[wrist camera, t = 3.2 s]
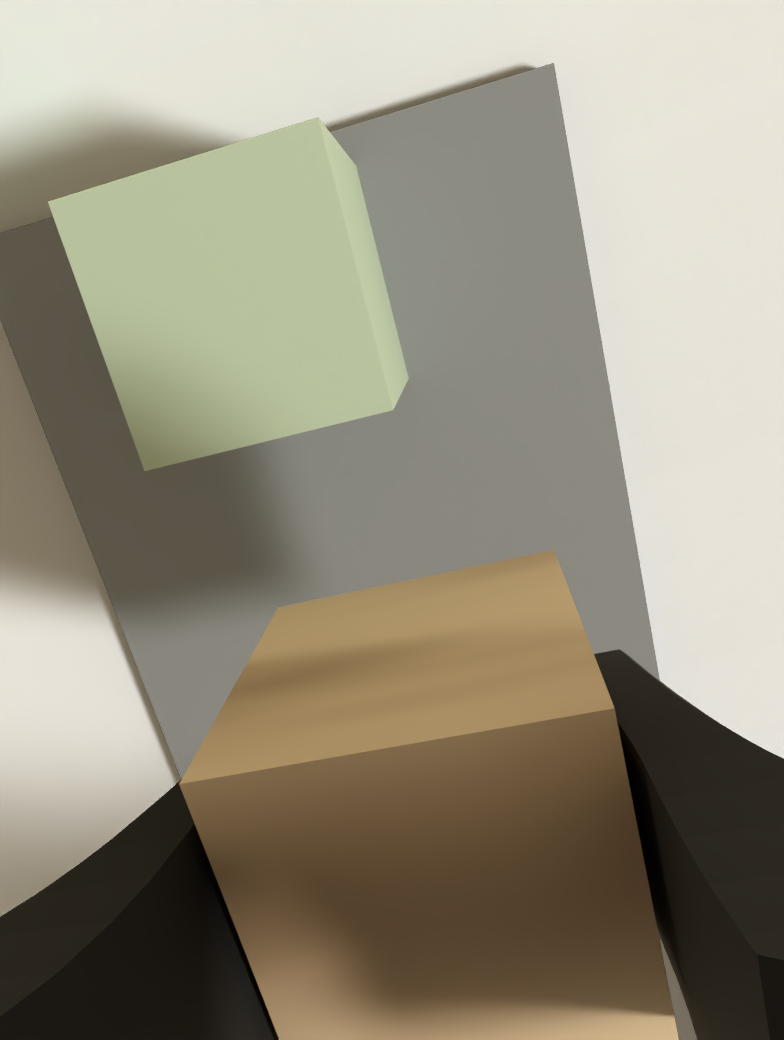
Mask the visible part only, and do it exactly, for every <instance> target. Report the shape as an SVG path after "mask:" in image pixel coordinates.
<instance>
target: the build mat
mask: <svg viewBox="0 0 784 1040" xmlns="http://www.w3.org/2000/svg"><path fill="white" fill-rule="evenodd" d="M330 133H331V134H332V136H333V137H334V138H335V139H336V141H337V142H338V143H339V144H340V146H341V147H342V148H343V150H344V151H345V152H346V153H347V155H348V156H349V157H350V159H351V160H352V161H353V162H354V164H355V165H356V167H357V171H358V175H359V179H360V183H361V188H362V192H363V196H364V200H365V204H366V208H367V212H368V216H369V220H370V224H371V228H372V232H373V236H374V240H375V244H376V248H377V252H378V256H379V260H380V264H381V268H382V273H383V277H384V281H385V285H386V289H387V293H388V297H389V301H390V305H391V309H392V313H393V317H394V321H395V325H396V329H397V333H398V337H399V341H400V345H401V349H402V354H403V358H404V362H405V366H406V370H407V374H408V378H409V379H408V381H407V383H406V385H405V387H404V389H403V391H402V393H401V395H400V397H399V399H398V401H397V403H396V405H395V407H394V409H393V410H392V411H388V412H384V413H380V414H376V415H372V416H367V417H363V418H359V419H355V420H351V421H347V422H343V423H339V424H335V425H331V426H327V427H323V428H319V429H315V430H310V431H306V432H302V433H298V434H294V435H290V436H286V437H282V438H278V439H274V440H270V441H266V442H262V443H258V444H253V445H249V446H245V447H241V448H237V449H233V450H229V451H225V452H221V453H217V454H213V455H209V456H205V457H201V458H196V459H192V460H188V461H184V462H180V463H176V464H172V465H168V466H164V467H160V468H156V469H152V470H148V471H144V468H143V465H142V463H141V460H140V457H139V454H138V451H137V449H136V446H135V443H134V440H133V438H132V435H131V432H130V429H129V426H128V424H127V421H126V418H125V415H124V412H123V410H122V407H121V404H120V401H119V399H118V396H117V393H116V390H115V387H114V385H113V382H112V379H111V376H110V374H109V371H108V368H107V365H106V362H105V360H104V357H103V354H102V351H101V349H100V346H99V343H98V340H97V337H96V335H95V332H94V329H93V326H92V323H91V321H90V318H89V315H88V312H87V310H86V307H85V304H84V301H83V298H82V296H81V293H80V290H79V287H78V285H77V282H76V279H75V276H74V273H73V271H72V268H71V265H70V262H69V260H68V257H67V254H66V251H65V248H64V246H63V243H62V240H61V237H60V234H59V232H58V229H57V226H56V223H55V221H54V218H53V217H52V218H49V219H45V220H42V221H39V222H36V223H32V224H29V225H26V226H23V227H19V228H16V229H13V230H10V231H6V232H3V233H0V320H1V322H2V325H3V327H4V330H5V332H6V335H7V337H8V340H9V343H10V345H11V348H12V350H13V353H14V355H15V358H16V360H17V363H18V365H19V368H20V371H21V373H22V376H23V378H24V381H25V383H26V386H27V388H28V391H29V393H30V396H31V399H32V401H33V404H34V406H35V409H36V411H37V414H38V416H39V419H40V421H41V424H42V427H43V429H44V432H45V434H46V437H47V439H48V442H49V444H50V447H51V449H52V452H53V455H54V457H55V460H56V462H57V465H58V467H59V470H60V472H61V475H62V477H63V480H64V483H65V485H66V488H67V490H68V493H69V495H70V498H71V500H72V503H73V505H74V508H75V511H76V513H77V516H78V518H79V521H80V523H81V526H82V528H83V531H84V533H85V536H86V539H87V541H88V544H89V546H90V549H91V551H92V554H93V556H94V559H95V562H96V564H97V567H98V569H99V572H100V574H101V577H102V579H103V582H104V584H105V587H106V590H107V592H108V595H109V597H110V600H111V602H112V605H113V607H114V610H115V612H116V615H117V618H118V620H119V623H120V625H121V628H122V630H123V633H124V635H125V638H126V640H127V643H128V646H129V648H130V651H131V653H132V656H133V658H134V661H135V663H136V666H137V668H138V671H139V674H140V676H141V679H142V681H143V684H144V686H145V689H146V691H147V694H148V696H149V699H150V702H151V704H152V707H153V709H154V712H155V714H156V717H157V719H158V722H159V724H160V727H161V730H162V732H163V735H164V737H165V740H166V742H167V745H168V747H169V750H170V752H171V755H172V758H173V760H174V763H175V765H176V768H177V770H178V773H179V775H180V778H181V779H182V778H183V776H184V774H185V773H186V771H187V769H188V767H189V766H190V764H191V762H192V760H193V758H194V757H195V755H196V753H197V751H198V750H199V748H200V746H201V744H202V742H203V741H204V739H205V737H206V735H207V733H208V732H209V730H210V728H211V726H212V725H213V723H214V721H215V719H216V717H217V716H218V714H219V712H220V710H221V708H222V707H223V705H224V703H225V701H226V700H227V698H228V696H229V694H230V692H231V691H232V689H233V687H234V685H235V684H236V682H237V680H238V678H239V676H240V675H241V673H242V671H243V669H244V667H245V666H246V664H247V662H248V660H249V659H250V657H251V655H252V653H253V651H254V650H255V648H256V646H257V644H258V642H259V641H260V639H261V637H262V635H263V634H264V632H265V630H266V628H267V626H268V625H269V623H270V621H271V619H272V618H273V616H274V614H275V612H276V610H277V609H278V607H282V606H287V605H292V604H297V603H301V602H306V601H311V600H316V599H321V598H325V597H330V596H335V595H340V594H345V593H349V592H354V591H359V590H364V589H368V588H373V587H378V586H383V585H388V584H392V583H397V582H402V581H407V580H412V579H416V578H421V577H426V576H431V575H436V574H440V573H445V572H450V571H455V570H459V569H464V568H469V567H474V566H479V565H483V564H488V563H493V562H498V561H503V560H507V559H512V558H517V557H522V556H527V555H531V554H536V553H541V552H546V551H551V550H554V551H555V554H556V556H557V559H558V562H559V564H560V567H561V570H562V572H563V575H564V577H565V580H566V583H567V585H568V588H569V590H570V593H571V596H572V598H573V601H574V604H575V606H576V609H577V611H578V614H579V617H580V619H581V622H582V624H583V627H584V630H585V632H586V635H587V637H588V640H589V643H590V645H591V648H592V651H593V653H594V654H596V653H602V652H607V651H613V650H618V649H620V650H621V651H623V652H624V653H626V654H627V655H629V656H630V657H631V658H632V659H633V660H635V661H636V662H637V663H638V664H639V665H641V666H642V667H643V668H644V669H645V670H647V671H648V672H649V673H650V674H652V675H653V676H654V677H655V678H657V679H658V680H659V681H660V679H659V674H658V668H657V662H656V656H655V650H654V645H653V639H652V633H651V627H650V621H649V615H648V610H647V604H646V598H645V592H644V586H643V580H642V575H641V569H640V563H639V557H638V551H637V545H636V540H635V534H634V528H633V522H632V516H631V510H630V505H629V499H628V493H627V487H626V481H625V475H624V470H623V464H622V458H621V452H620V446H619V440H618V435H617V429H616V423H615V417H614V411H613V405H612V400H611V394H610V388H609V382H608V376H607V370H606V365H605V359H604V353H603V347H602V341H601V335H600V330H599V324H598V318H597V312H596V306H595V301H594V295H593V289H592V283H591V277H590V271H589V266H588V260H587V254H586V248H585V242H584V236H583V231H582V225H581V219H580V213H579V207H578V201H577V196H576V190H575V184H574V178H573V172H572V166H571V161H570V155H569V149H568V143H567V137H566V131H565V126H564V120H563V114H562V108H561V102H560V96H559V91H558V85H557V79H556V73H555V67H554V63H552V64H549V65H545V66H542V67H539V68H536V69H532V70H529V71H526V72H523V73H519V74H516V75H513V76H510V77H506V78H503V79H500V80H497V81H493V82H490V83H487V84H484V85H480V86H477V87H474V88H471V89H468V90H464V91H461V92H458V93H455V94H451V95H448V96H445V97H442V98H438V99H435V100H432V101H429V102H425V103H422V104H419V105H416V106H412V107H409V108H406V109H403V110H399V111H396V112H393V113H390V114H386V115H383V116H380V117H377V118H373V119H370V120H367V121H364V122H360V123H357V124H354V125H351V126H347V127H344V128H341V129H338V130H334V131H331V132H330ZM658 935H659V932H658ZM659 939H661V937H660V935H659Z"/></svg>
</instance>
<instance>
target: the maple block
mask: <svg viewBox="0 0 784 1040" xmlns="http://www.w3.org/2000/svg"><path fill="white" fill-rule="evenodd" d="M179 785H180V788H181V790H182V793H183V795H184V798H185V800H186V803H187V805H188V808H189V811H190V813H191V816H192V818H193V821H194V823H195V826H196V828H197V831H198V834H199V836H200V839H201V841H202V844H203V846H204V849H205V851H206V854H207V856H208V859H209V862H210V864H211V867H212V869H213V872H214V874H215V877H216V879H217V882H218V885H219V887H220V890H221V892H222V895H223V897H224V900H225V902H226V905H227V908H228V910H229V913H230V915H231V918H232V920H233V923H234V925H235V928H236V930H237V933H238V936H239V938H240V941H241V943H242V946H243V948H244V951H245V953H246V956H247V959H248V961H249V964H250V966H251V969H252V971H253V974H254V976H255V979H256V981H257V984H258V987H259V989H260V992H261V994H262V997H263V999H264V1002H265V1004H266V1007H267V1010H268V1012H269V1015H270V1017H271V1020H272V1022H273V1025H274V1027H275V1030H276V1033H277V1035H278V1038H279V1040H679V1038H678V1033H677V1028H676V1023H675V1017H674V1012H673V1007H672V1002H671V997H670V992H669V986H668V981H667V976H666V971H665V966H664V961H663V956H662V950H661V945H660V940H659V935H658V930H657V925H656V919H655V914H654V909H653V904H652V899H651V894H650V888H649V883H648V878H647V873H646V868H645V863H644V857H643V852H642V847H641V842H640V837H639V832H638V827H637V821H636V816H635V811H634V806H633V801H632V796H631V790H630V785H629V780H628V775H627V770H626V765H625V759H624V754H623V749H622V744H621V739H620V734H619V728H618V723H617V718H616V713H615V708H614V705H613V703H612V700H611V698H610V695H609V692H608V690H607V687H606V685H605V682H604V679H603V677H602V674H601V671H600V669H599V666H598V664H597V661H596V658H595V656H594V653H593V651H592V648H591V645H590V643H589V640H588V637H587V635H586V632H585V630H584V627H583V624H582V622H581V619H580V617H579V614H578V611H577V609H576V606H575V604H574V601H573V598H572V596H571V593H570V590H569V588H568V585H567V583H566V580H565V577H564V575H563V572H562V570H561V567H560V564H559V562H558V559H557V556H556V554H555V551H554V550H551V551H546V552H541V553H536V554H531V555H527V556H522V557H517V558H512V559H507V560H503V561H498V562H493V563H488V564H483V565H479V566H474V567H469V568H464V569H459V570H455V571H450V572H445V573H440V574H436V575H431V576H426V577H421V578H416V579H412V580H407V581H402V582H397V583H392V584H388V585H383V586H378V587H373V588H368V589H364V590H359V591H354V592H349V593H345V594H340V595H335V596H330V597H325V598H321V599H316V600H311V601H306V602H301V603H297V604H292V605H287V606H282V607H278V609H277V610H276V612H275V614H274V616H273V618H272V619H271V621H270V623H269V625H268V626H267V628H266V630H265V632H264V634H263V635H262V637H261V639H260V641H259V642H258V644H257V646H256V648H255V650H254V651H253V653H252V655H251V657H250V659H249V660H248V662H247V664H246V666H245V667H244V669H243V671H242V673H241V675H240V676H239V678H238V680H237V682H236V684H235V685H234V687H233V689H232V691H231V692H230V694H229V696H228V698H227V700H226V701H225V703H224V705H223V707H222V708H221V710H220V712H219V714H218V716H217V717H216V719H215V721H214V723H213V725H212V726H211V728H210V730H209V732H208V733H207V735H206V737H205V739H204V741H203V742H202V744H201V746H200V748H199V750H198V751H197V753H196V755H195V757H194V758H193V760H192V762H191V764H190V766H189V767H188V769H187V771H186V773H185V774H184V776H183V778H182V780H181V782H180V783H179Z"/></svg>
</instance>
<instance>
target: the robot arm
mask: <svg viewBox="0 0 784 1040" xmlns="http://www.w3.org/2000/svg"><path fill="white" fill-rule="evenodd" d="M594 656H595V658H596V661H597V664H598V666H599V669H600V671H601V674H602V677H603V679H604V682H605V685H606V687H607V690H608V692H609V695H610V698H611V700H612V703H613V705H614V708H615V713H616V718H617V723H618V728H619V734H620V739H621V744H622V749H623V754H624V759H625V765H626V770H627V775H628V780H629V785H630V790H631V796H632V801H633V806H634V811H635V816H636V821H637V827H638V832H639V837H640V842H641V847H642V852H643V857H644V863H645V868H646V873H647V878H648V883H649V888H650V894H651V899H652V904H653V909H654V914H655V919H656V925H657V930H658V932H659V935H660V937H661V940H662V942H663V945H664V947H665V950H666V952H667V955H668V957H669V960H670V962H671V965H672V967H673V970H674V972H675V975H676V977H677V980H678V983H679V985H680V988H681V991H682V994H683V997H684V999H685V1002H686V1005H687V1008H688V1011H689V1013H690V1017H691V1020H692V1023H693V1026H694V1030H695V1033H696V1036H697V1040H784V759H783V758H781V757H779V756H777V755H775V754H773V753H771V752H769V751H767V750H765V749H763V748H761V747H759V746H757V745H756V744H754V743H752V742H750V741H748V740H746V739H745V738H743V737H741V736H740V735H738V734H736V733H735V732H733V731H731V730H730V729H728V728H726V727H725V726H723V725H721V724H720V723H718V722H717V721H715V720H714V719H712V718H711V717H709V716H708V715H706V714H705V713H703V712H702V711H700V710H699V709H698V708H696V707H695V706H693V705H692V704H690V703H689V702H688V701H686V700H685V699H683V698H682V697H680V696H679V695H678V694H676V693H675V692H674V691H672V690H671V689H670V688H668V687H667V686H666V685H664V684H663V683H662V682H661V681H659V680H658V679H657V678H655V677H654V676H653V675H652V674H650V673H649V672H648V671H647V670H645V669H644V668H643V667H642V666H641V665H639V664H638V663H637V662H636V661H635V660H633V659H632V658H631V657H630V656H629V655H627V654H626V653H624V652H623V651H621V650H620V649H618V650H613V651H607V652H602V653H596V654H594ZM181 780H182V779H181ZM181 780H180V781H179V782H178V783H177V784H176V785H175V786H174V787H173V788H171V789H170V790H169V791H168V792H167V793H166V794H165V795H164V796H162V797H161V798H160V799H159V800H158V801H157V802H155V803H154V804H153V805H152V806H151V807H149V808H148V809H147V810H146V811H145V812H143V813H142V814H141V815H140V816H139V817H138V818H136V819H135V820H134V821H133V822H132V823H130V824H129V825H128V826H127V827H126V828H125V829H123V830H122V831H121V832H120V833H119V834H117V835H116V836H115V837H114V838H113V839H111V840H110V841H109V842H108V843H106V844H105V845H104V846H102V847H101V848H100V849H99V850H97V851H96V852H95V853H93V854H92V855H91V856H89V857H88V858H87V859H85V860H84V861H83V862H81V863H80V864H79V865H77V866H76V867H74V868H73V869H72V870H70V871H69V872H67V873H66V874H65V875H63V876H62V877H60V878H59V879H58V880H56V881H55V882H53V883H52V884H51V885H49V886H48V887H46V888H45V889H43V890H42V891H40V892H39V893H37V894H36V895H34V896H33V897H31V898H30V899H28V900H26V901H25V902H23V903H22V904H20V905H18V906H17V907H15V908H14V909H12V910H10V911H9V912H7V913H6V914H4V915H3V916H1V917H0V1040H279V1038H278V1035H277V1033H276V1030H275V1027H274V1025H273V1022H272V1020H271V1017H270V1015H269V1012H268V1010H267V1007H266V1004H265V1002H264V999H263V997H262V994H261V992H260V989H259V987H258V984H257V981H256V979H255V976H254V974H253V971H252V969H251V966H250V964H249V961H248V959H247V956H246V953H245V951H244V948H243V946H242V943H241V941H240V938H239V936H238V933H237V930H236V928H235V925H234V923H233V920H232V918H231V915H230V913H229V910H228V908H227V905H226V902H225V900H224V897H223V895H222V892H221V890H220V887H219V885H218V882H217V879H216V877H215V874H214V872H213V869H212V867H211V864H210V862H209V859H208V856H207V854H206V851H205V849H204V846H203V844H202V841H201V839H200V836H199V834H198V831H197V828H196V826H195V823H194V821H193V818H192V816H191V813H190V811H189V808H188V805H187V803H186V800H185V798H184V795H183V793H182V790H181V788H180V785H179V783H180V782H181Z"/></svg>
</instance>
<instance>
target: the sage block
mask: <svg viewBox="0 0 784 1040" xmlns="http://www.w3.org/2000/svg"><path fill="white" fill-rule="evenodd" d="M48 204H49V207H50V209H51V212H52V215H53V218H54V221H55V223H56V226H57V229H58V232H59V234H60V237H61V240H62V243H63V246H64V248H65V251H66V254H67V257H68V260H69V262H70V265H71V268H72V271H73V273H74V276H75V279H76V282H77V285H78V287H79V290H80V293H81V296H82V298H83V301H84V304H85V307H86V310H87V312H88V315H89V318H90V321H91V323H92V326H93V329H94V332H95V335H96V337H97V340H98V343H99V346H100V349H101V351H102V354H103V357H104V360H105V362H106V365H107V368H108V371H109V374H110V376H111V379H112V382H113V385H114V387H115V390H116V393H117V396H118V399H119V401H120V404H121V407H122V410H123V412H124V415H125V418H126V421H127V424H128V426H129V429H130V432H131V435H132V438H133V440H134V443H135V446H136V449H137V451H138V454H139V457H140V460H141V463H142V465H143V468H144V471H148V470H152V469H156V468H160V467H164V466H168V465H172V464H176V463H180V462H184V461H188V460H192V459H196V458H201V457H205V456H209V455H213V454H217V453H221V452H225V451H229V450H233V449H237V448H241V447H245V446H249V445H253V444H258V443H262V442H266V441H270V440H274V439H278V438H282V437H286V436H290V435H294V434H298V433H302V432H306V431H310V430H315V429H319V428H323V427H327V426H331V425H335V424H339V423H343V422H347V421H351V420H355V419H359V418H363V417H367V416H372V415H376V414H380V413H384V412H388V411H392V410H393V409H394V407H395V405H396V403H397V401H398V399H399V397H400V395H401V393H402V391H403V389H404V387H405V385H406V383H407V381H408V379H409V378H408V374H407V370H406V366H405V362H404V358H403V354H402V349H401V345H400V341H399V337H398V333H397V329H396V325H395V321H394V317H393V313H392V309H391V305H390V301H389V297H388V293H387V289H386V285H385V281H384V277H383V273H382V268H381V264H380V260H379V256H378V252H377V248H376V244H375V240H374V236H373V232H372V228H371V224H370V220H369V216H368V212H367V208H366V204H365V200H364V196H363V192H362V188H361V183H360V179H359V175H358V171H357V167H356V165H355V164H354V162H353V161H352V160H351V159H350V157H349V156H348V155H347V153H346V152H345V151H344V150H343V148H342V147H341V146H340V144H339V143H338V142H337V141H336V139H335V138H334V137H333V136H332V134H331V133H330V132H329V130H328V129H327V128H326V127H325V125H324V124H323V123H322V122H321V120H320V119H319V118H318V117H317V118H314V119H311V120H308V121H304V122H301V123H298V124H295V125H291V126H288V127H285V128H282V129H279V130H275V131H272V132H269V133H266V134H263V135H259V136H256V137H253V138H250V139H247V140H243V141H240V142H237V143H234V144H231V145H227V146H224V147H221V148H218V149H215V150H211V151H208V152H205V153H202V154H198V155H195V156H192V157H189V158H186V159H182V160H179V161H176V162H173V163H170V164H166V165H163V166H160V167H157V168H154V169H150V170H147V171H144V172H141V173H138V174H134V175H131V176H128V177H125V178H122V179H118V180H115V181H112V182H109V183H106V184H102V185H99V186H96V187H93V188H89V189H86V190H83V191H80V192H77V193H73V194H70V195H67V196H64V197H61V198H57V199H54V200H51V201H48Z"/></svg>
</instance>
